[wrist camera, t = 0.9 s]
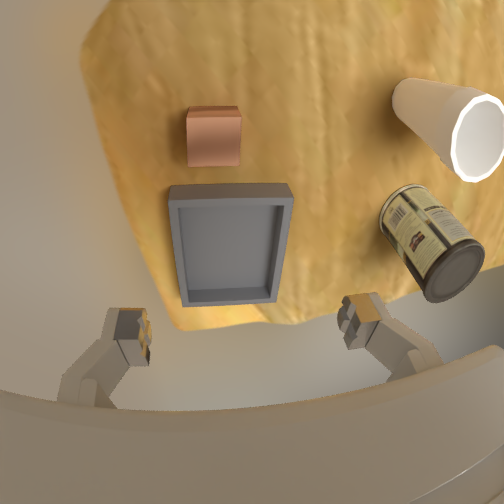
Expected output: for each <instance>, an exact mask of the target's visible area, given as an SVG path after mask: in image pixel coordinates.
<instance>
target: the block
mask: <svg viewBox="0 0 504 504" xmlns="http://www.w3.org/2000/svg"><path fill="white" fill-rule="evenodd" d="M241 121H242V117H241V114H240V112H239V110H238V107H237V106H198V107H189V111H188V114H187V118H186V123H187V157H188V167H205V166H239V162H240V141H241Z"/></svg>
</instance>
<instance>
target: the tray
mask: <svg viewBox="0 0 504 504" xmlns="http://www.w3.org/2000/svg"><path fill="white" fill-rule="evenodd" d="M293 202H294V197H293V194H292V192H291V190H290V188H289V186H288V184H287V183H234V184H197V185H174V186H171V187H170V192H169V197H168V207H169V216H170V225H171V233H172V241H173V248H174V255H175V262H176V269H177V276H178V282H179V288H180V294H181V300H182V306H183V307H202V306H224V305H242V304H258V303H273V302H276V300H277V295H278V289H279V284H280V278H281V273H282V267H283V262H284V256H285V250H286V244H287V238H288V232H289V226H290V220H291V214H292V208H293Z"/></svg>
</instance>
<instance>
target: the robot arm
mask: <svg viewBox="0 0 504 504" xmlns="http://www.w3.org/2000/svg"><path fill="white" fill-rule="evenodd" d="M342 304H343V306H342V307H341V308H340V309H339V311H338V315H337V321H338V326H339V329H340V330H341V331H342V332H344V333H345V335H344V341H345V343H346V345H347V348H348V350H351V349H357V348H364V347H365V349H366V350H368V351H369V352H370V353H371V354H372V355H373V356H374V357H375V358H376V359H378V360H379V361H380V362H381V363H382V364H383V365H384V366H385V367H386V368H387V369H388V370H390V371H391V372H392V374H391V376H390V377H389V378H388V380H387V381H386V383H383V384H379V385H375V386H372V387H368V388H364V389H360V390H355V391H351V392H346V393H341V394H337V395H332V396H326V397H321V398H316V399H310V400H304V401H297V402H291V403H284V404H276V405H268V406H259V407H249V408H238V409H224V410H203V411H145V410H144V411H143V410H125V409H117V408H116V406H115V405H114V404H113V403H112V401H111V400H110V399H109V396H110V394H111V393H112V391H113V390H114V389H115V387H116V386H117V384H118V383H119V382H120V380H121V379H122V377H123V376H124V375H125V373H126V372H127V370H128V369H129V368H130V367H129V366H149V361H150V351H149V348H148V346H149V345H150V344H151V339H152V335H151V326H150V322H149V321H148V320H147V312H146V309H145V308H109V309H108V311H107V315H106V318H105V322H104V327H103V331H102V335H101V339H100V340H96V341H95V342H94V343H93V344H92V345H91V346H90V347H89V348H88V349H87V350H86V351H85V352H84V353H83V354H82V355H81V356H80V357H79V358H78V360H76V362H75V363H74V364H73V365H72V366H71V367H70V368H69V369H68V370H67V371H66V372H65V373H64V374H63V375H62V379H61V383H60V388H59V392H58V397H57V402H56V401H50V400H44V399H39V398H34V397H29V396H25V395H20V394H16V393H12V392H7V391H3V390H0V504H504V350H503V349H502V348H500V347H498V346H496V345H491V346H488V347H486V348H483V349H481V350H479V351H476V352H474V353H471V354H469V355H467V356H464V357H462V358H459V359H457V360H454V361H452V362H449V363H446V364H444V363H443V361H442V359H441V357H440V356H439V354H438V352H437V350H436V348H435V347H434V345H433V343H431V342H430V341H428V340H427V339H425V338H424V337H422V336H421V335H419V334H418V333H416V332H415V331H413V330H412V329H410V328H409V327H407V326H406V325H404V324H403V323H401V322H400V321H398V320H397V319H395V318H392V317H391V315H390V314H389V312H388V310H387V309H386V307H385V305H384V303H383V301H382V300H381V298H380V296H379V295H378V293H376V292H372V293H363V294H355V295H347V296H345V297H344V298H343V300H342Z"/></svg>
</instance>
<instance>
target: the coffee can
mask: <svg viewBox="0 0 504 504" xmlns="http://www.w3.org/2000/svg"><path fill="white" fill-rule="evenodd" d="M379 224H380V229H381V231H382V233H383V234H384V235H385V236H386V237H387V239H388V240H389V241H390V243H391V244H392V246H393V247H394V248H395V250H396V251H397V253H398V254H399V256H400V257H401V259H402V260H403V262H404V263H405V265H406V266H407V268H408V269H409V271H410V272H411V274H412V275H413V277H414V279H415V280H416V282H417V283H418V285H419V286H420V288H421V289H422V291H423V294H424V296H425V298H426V300H427V301H429V302H431V303H439V302H443V301H446V300H448V299H450V298H452V297H454V296H456V295H457V294H458V293H460V292H461V291H462V290H464V289H465V288H466V287H467V286H468V285H469V284H470V283H471V281H472V280H473V279H474V278H475V277H476V275H477V274H478V272H479V271H480V269H481V267H482V265H483V262H484V258H485V250H484V248H483V246H482V245H481V244H480V243H479V242H477V241H476V240H475V238H474V237H473V236H472V235H471V234H470V233H469V232H468V231H467V229H466V228H465V227H464V226H463V225H462V224H461V223H460V222H459V221H458V220H457V219H456V218H455V217H454V216H453V215H452V214H451V213H450V212H449V211H448V210H447V209H446V208H445V207H444V206H443V205H442V204H441V203H440V202H439V201H438V200H437V199H436V198H435V197H434V196H433V195H432V194H431V193H430V192H429V190H428V189H427V188H425V187H424V186H422V185H418V184H411V185H408V186H405V187H402V188H400V189H399V190H397V191H396V192H395V193H393V194H392V195H391V196H390V198H389V199H388V200H387V201H386V203H385V204H384V206H383V208H382V211H381V214H380V218H379Z"/></svg>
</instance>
